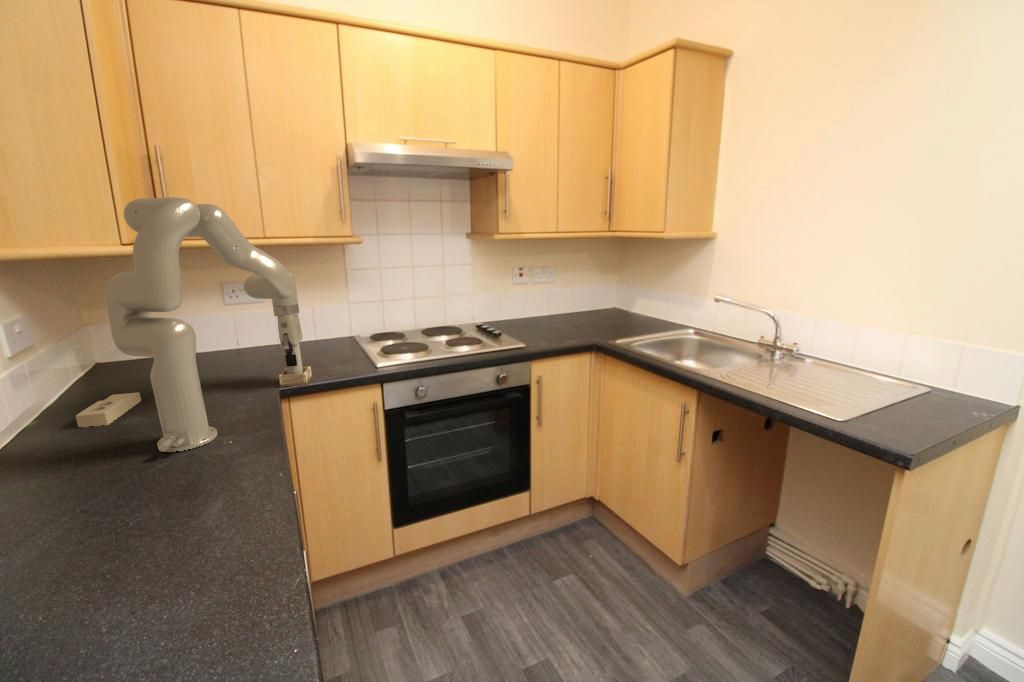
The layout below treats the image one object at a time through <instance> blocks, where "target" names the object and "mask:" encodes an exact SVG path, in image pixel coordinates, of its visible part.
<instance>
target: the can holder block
mask: <svg viewBox="0 0 1024 682" xmlns="http://www.w3.org/2000/svg"><path fill="white" fill-rule="evenodd" d="M302 368H303V373H302V374H287V367H285V368H284V369H283V370H282V372H281V373H280V374H279V375H278V379H279V386H291V385H306V386H308V385H309V383H310V382H311V380H312V378H313V375H312V368H311V366H310V365H309V366H302ZM311 377H312V378H311ZM310 379H311V380H310ZM308 382H309V383H308ZM307 384H308V385H307Z"/></svg>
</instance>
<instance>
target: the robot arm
mask: <svg viewBox="0 0 1024 682" xmlns="http://www.w3.org/2000/svg"><path fill="white" fill-rule="evenodd" d="M123 218H124V221H125V223H126V224H127V226H128V227H130V229H131V230H133V232H136V233H137V234H136V236H135V239H134V242H133V247H132V252H133V253H132V254H133V255H132V256H133V269H134V270H131V271H129V270H127V271H123V272H120V273H117V274H116V275H114V276H113V277H112V278H111V279H110V280H109V282H108V283H107V287H106V291H105V299H106V300H105V301H106V306H107V313H108V320H109V325H110V331H111V332H110V333H111V336H112V337H111V338H112V340H113V343H114V345H115V346H116V349H118V350H119V352H121V353H122V354H123V355H126V356H127V355H128V356H130V357H131V356H132V357H143V358H153V363H152V364H153V365H152V366H151V368H150V369H151V370H150V374H149V375H150V377H149V378H150V383H151V387H152V391H153V396H154V400H155V405H156V409H157V414H158V419H159V423H160V426H161V430H162V435H163V436H162V437H161V438H160V439H159V440H158V441H157V443H156V446H157V448H158V450H159V451H160V452H162V453H163V452H165V453H177V452H176V451H179V452H185V451H189V450H188V449H190V450H193V448H194V449H196V447H197V448H199V446H200V447H202V446H204V444H205V445H207V444H208V443H210V442H212V441H214V440H215V438H216V437H217V436H218V430H217V429H216V428H215V427H213V426H210V425H209V422H208V417H207V412H206V406H205V400H204V397H203V390H202V387H201V381H200V380H201V379H200V377H199V371H198V365H197V354H196V353H197V352H196V350H197V336H196V331H195V329H194V327H193V326H191V324H190V323H188V322H187V321H185V320H183V319H179V318H174V317H159V316H158V317H157V316H156V317H155V316H154V317H152V315H151V313H167V312H174V311H176V310H177V309H179V308H180V307H181V306H182V304H183V300H184V291H183V283H182V281H183V280H182V275H181V267H180V255H179V253H180V248H181V245H182V243H183V241H184V240H185V239H186V238H201V239H202V240H204V241H205V242H206V243H207V245H209V247H211V249H212V250H213V251H214V253H216V254H217V255H218V256H219V258H220V259H221V261H222V262H224V263H225V264H227V265H229V266H232V267H234V268H237V269H241V270H244V271H248V272H251V273H253V274H252V275H249V276H248V277H247V278H246V279H245V280H244V283H243V288H244V292H245V294H247V296H249V297H251V298H252V299H253V298H254V299H259V300H262V299H263V300H271V303H272V308H273V316H274V317H277V328H278V330H277V331H278V337H279V341H280V342H279V343H280V346H282V347H283V352H284V351H285V354H284V358H285V359H286V360H285V364H286V365H285V366H287V367H289V366H297V359H296V354H295V352H294V345H295V346H296V345H298V343H299V344H300V342H302V340H303V333H302V326H301V321H300V317H299V314H300V307H299V300H298V291H297V285H296V277H295V274H294V273H293V272H292V271H289V270H287V269H286V267H285V266H284V265H283V264H282V263H281V262H280V261H279V260H278V259H276V258H275V257H274V256H272V255H271V254H268V253H266V252H265V251H263V250H262V249H260V248H258V247H256V246H254V245H253V244H251V242H250V241H249V240H248V239H247V238H246V236H245V235H244V234H243V233H242V231H240V229H239V228H238V226H237V225H236V224H235V222H234V221H233V220H232V219H231V217H230V216H229V215H228V214H227V213H226V212H225V210H223V209H222V208H221V207H220V206H218V205H215V204H210V203H197V204H196V203H195V202H194V201H192V200H190V199H188V198H184V197H175V196H174V197H173V196H172V197H169V196H168V197H167V196H166V197H147V198H146V197H144V198H136V199H132V200H131V201H129V202H128V203H127V204H126V206H125V207H124V210H123ZM283 342H284V343H283ZM289 343H291V344H292V345H289ZM289 347H292V350H291V348H289ZM287 367H286V368H287ZM184 450H185V451H184Z"/></svg>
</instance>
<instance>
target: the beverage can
mask: <svg viewBox="0 0 1024 682" xmlns="http://www.w3.org/2000/svg"><path fill="white" fill-rule="evenodd" d="M283 343H284V342H283ZM289 345H292V344H291V343H289ZM289 348H291V350H292V347H289ZM300 348H301V347H300V342H299V343H298V345H296V346H295V345H294V352H295V354H296V359H297V366H289V367H287V366H286V365H285V366H286V367H285V368H287V374H302V373H303V368H302V367H303V361H302V356H301V355H302V354H301V349H300ZM283 352H284V355H285V351H284V350H283ZM285 361H286V359H285Z"/></svg>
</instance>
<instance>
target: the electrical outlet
mask: <svg viewBox="0 0 1024 682" xmlns="http://www.w3.org/2000/svg"><path fill="white" fill-rule="evenodd" d="M140 402H142V397H141V393H140V392H129V393H118V394H117V393H116V394H112V395H109V396H108V397H107V398H105V399H103V400H97V401H95V402H94V403H93V404H91V405H90V406H88V407H87V408H85V409H83V410H82V411H80V412H79V413H77V414H76V415H75V419H76V423H77V424H76V425H77V427H83V428H90V427H89V426H94V427H102V425H104V426H109V425H111V424H112V423H113V422H115V421H116V420H118V419H119V418H120V417H122V416H123V415H124V414H126V413H127V412H128V411H129V409H130V410H132V408H134V407H136V405H138V404H139V403H140ZM133 406H134V407H133ZM125 412H126V413H125ZM118 417H119V418H118ZM114 420H115V421H114ZM110 423H111V424H110Z"/></svg>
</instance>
